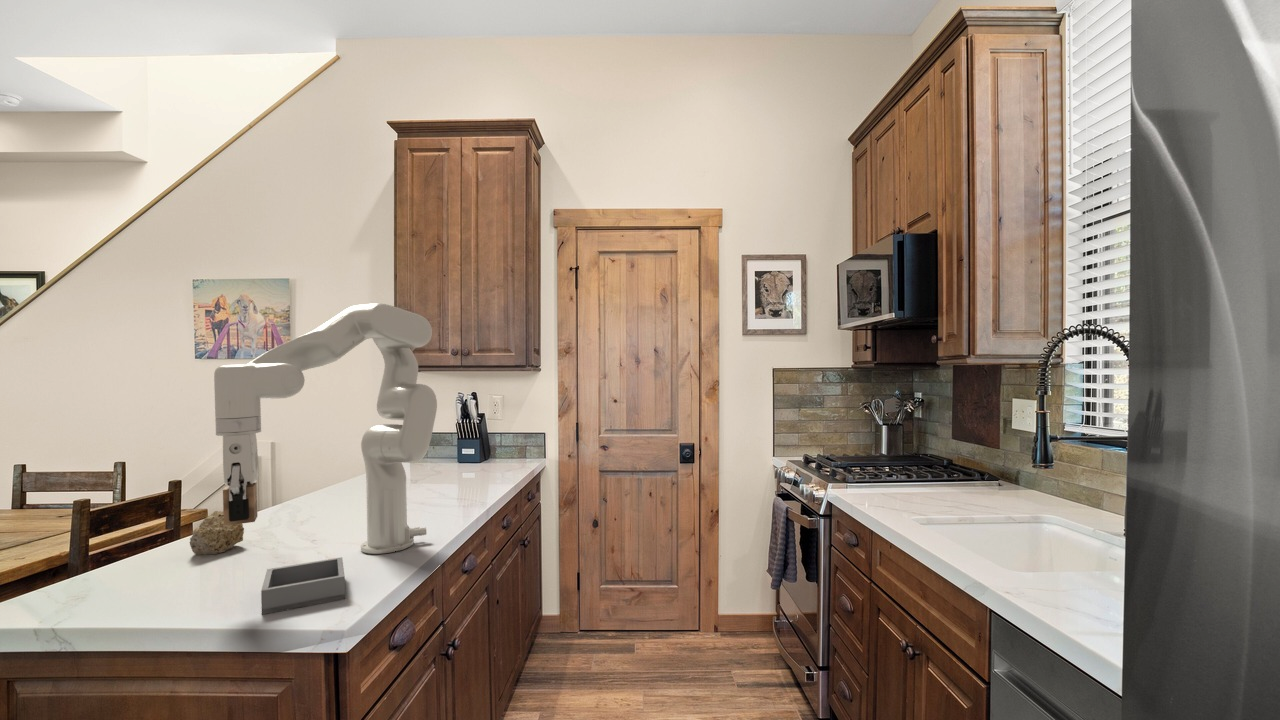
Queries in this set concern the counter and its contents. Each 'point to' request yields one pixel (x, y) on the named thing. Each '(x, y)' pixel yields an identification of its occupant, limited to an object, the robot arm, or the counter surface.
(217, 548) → the rock
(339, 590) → the bin
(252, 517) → the walnut block
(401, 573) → the counter surface
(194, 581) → the counter surface
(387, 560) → the counter surface
